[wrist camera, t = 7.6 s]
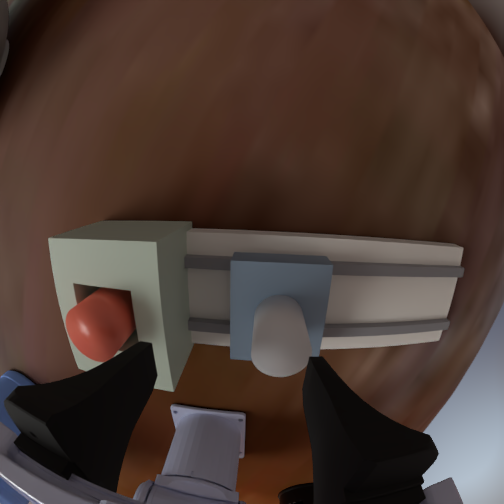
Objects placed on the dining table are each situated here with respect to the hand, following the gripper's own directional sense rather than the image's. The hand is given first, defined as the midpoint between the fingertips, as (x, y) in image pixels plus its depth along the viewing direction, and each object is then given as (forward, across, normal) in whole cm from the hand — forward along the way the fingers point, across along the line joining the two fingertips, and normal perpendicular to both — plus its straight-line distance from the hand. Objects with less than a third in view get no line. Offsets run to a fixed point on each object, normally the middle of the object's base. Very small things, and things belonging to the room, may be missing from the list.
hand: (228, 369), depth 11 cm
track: (+10, -2, 0) cm, 10 cm away
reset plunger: (+5, +8, 0) cm, 9 cm away
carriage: (+7, -3, 0) cm, 8 cm away
